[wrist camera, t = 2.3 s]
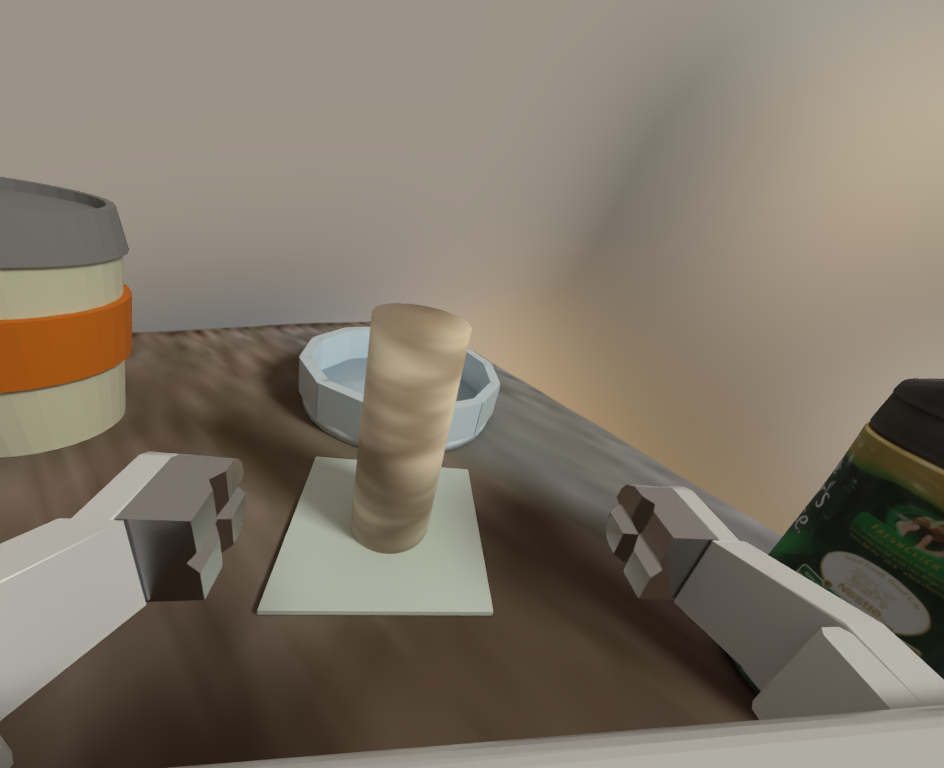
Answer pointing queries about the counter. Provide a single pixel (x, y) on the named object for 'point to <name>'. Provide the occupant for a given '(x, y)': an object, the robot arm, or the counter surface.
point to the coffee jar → (883, 523)
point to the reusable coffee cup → (60, 317)
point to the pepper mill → (405, 422)
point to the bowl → (343, 379)
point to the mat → (377, 556)
